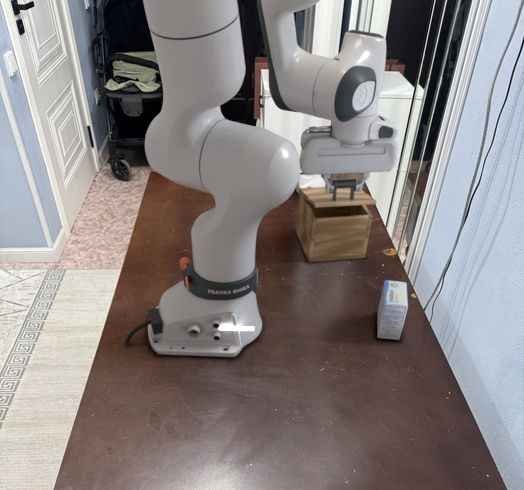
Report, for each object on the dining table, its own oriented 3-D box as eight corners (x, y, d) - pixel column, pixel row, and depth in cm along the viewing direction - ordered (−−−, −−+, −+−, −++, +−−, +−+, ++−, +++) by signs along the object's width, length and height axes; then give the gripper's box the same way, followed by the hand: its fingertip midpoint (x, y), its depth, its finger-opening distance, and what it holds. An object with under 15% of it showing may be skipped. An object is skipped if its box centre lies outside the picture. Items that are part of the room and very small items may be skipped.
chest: (364, 257, 118) (372, 216, 110) (308, 262, 116) (312, 219, 108) (348, 228, 128) (354, 188, 120) (296, 232, 126) (299, 191, 118)
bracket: (297, 194, 143) (292, 170, 138) (318, 184, 144) (314, 160, 139) (319, 214, 135) (316, 190, 129) (341, 203, 136) (339, 178, 130)
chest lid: (376, 204, 108) (378, 180, 105) (314, 207, 106) (315, 183, 103) (354, 188, 120) (356, 166, 117) (299, 191, 118) (300, 169, 115)
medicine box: (399, 341, 96) (409, 306, 90) (376, 338, 97) (384, 303, 91) (398, 316, 102) (407, 281, 96) (376, 313, 102) (384, 279, 96)
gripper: (305, 132, 95) (299, 200, 104) (406, 129, 97) (392, 195, 107) (298, 121, 99) (293, 187, 109) (395, 118, 102) (382, 183, 111)
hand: (343, 191), depth 108 cm, fingers closed on chest lid, 5 cm apart
